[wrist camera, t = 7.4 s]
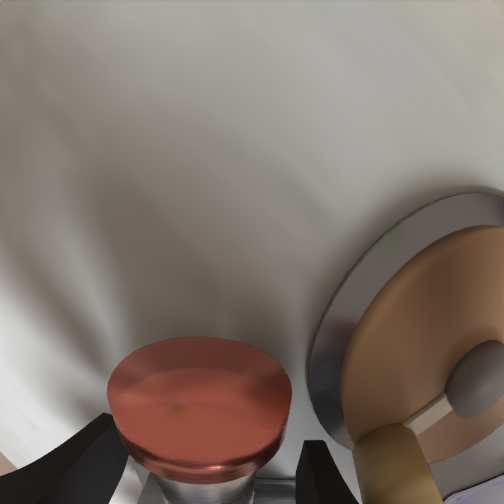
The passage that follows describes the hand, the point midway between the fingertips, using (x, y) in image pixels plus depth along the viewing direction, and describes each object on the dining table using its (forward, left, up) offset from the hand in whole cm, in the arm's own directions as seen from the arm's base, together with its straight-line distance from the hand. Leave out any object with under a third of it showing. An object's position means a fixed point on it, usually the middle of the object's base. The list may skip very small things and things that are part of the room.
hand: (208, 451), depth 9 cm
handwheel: (-9, -3, -2) cm, 10 cm away
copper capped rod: (0, +3, -1) cm, 3 cm away
